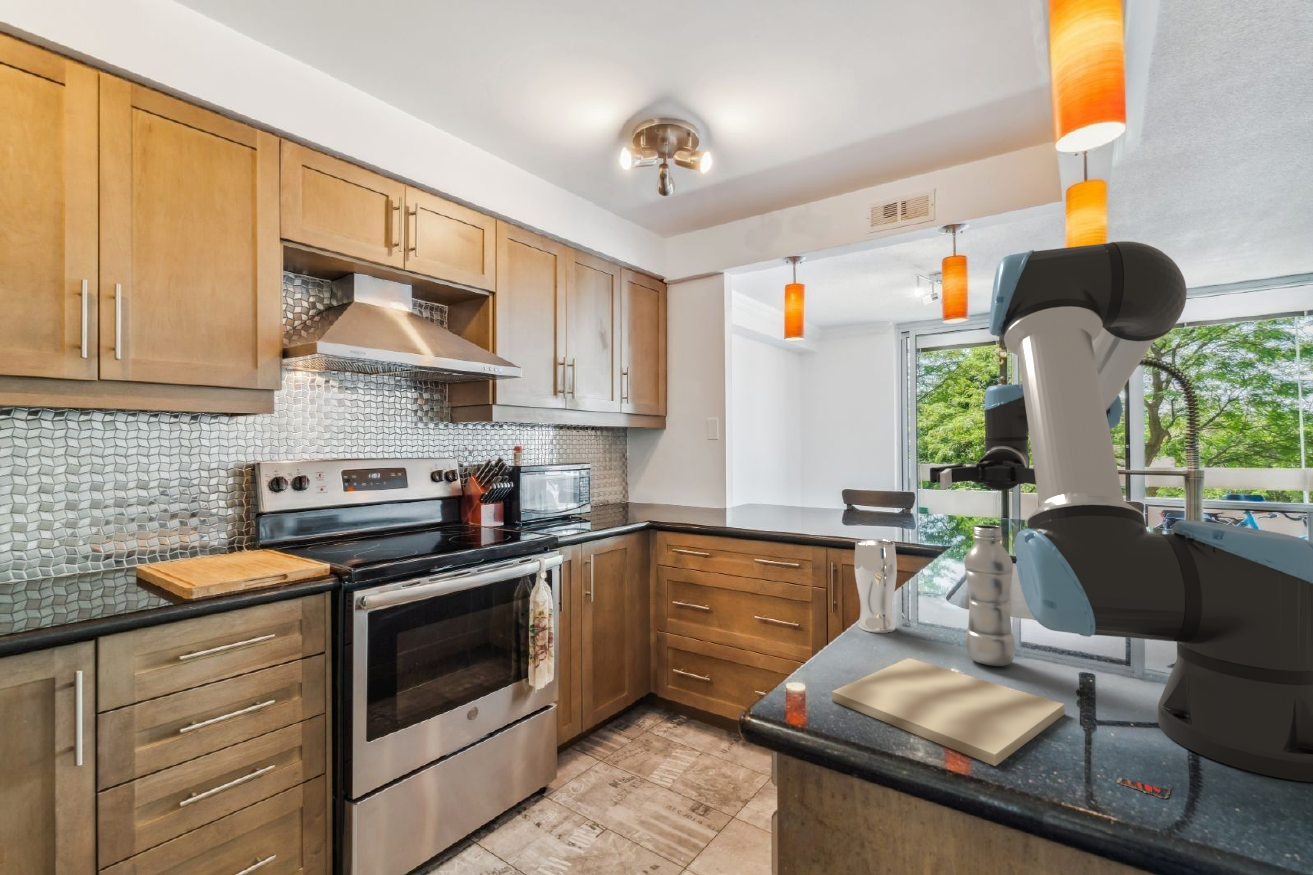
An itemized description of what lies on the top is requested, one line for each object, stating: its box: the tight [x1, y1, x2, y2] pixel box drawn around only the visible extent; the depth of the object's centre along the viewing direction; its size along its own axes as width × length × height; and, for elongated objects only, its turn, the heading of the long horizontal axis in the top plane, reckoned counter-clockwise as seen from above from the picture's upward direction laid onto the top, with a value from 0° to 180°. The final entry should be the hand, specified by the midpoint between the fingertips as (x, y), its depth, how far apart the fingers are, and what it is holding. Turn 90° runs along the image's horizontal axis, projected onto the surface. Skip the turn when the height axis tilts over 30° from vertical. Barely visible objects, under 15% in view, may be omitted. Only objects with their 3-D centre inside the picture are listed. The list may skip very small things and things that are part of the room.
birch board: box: [831, 657, 1065, 767], centre depth 75 cm, size 20×18×1 cm
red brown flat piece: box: [1116, 770, 1174, 799], centre depth 59 cm, size 5×5×1 cm
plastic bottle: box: [963, 524, 1017, 667], centre depth 89 cm, size 6×7×20 cm
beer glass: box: [853, 538, 898, 634], centre depth 106 cm, size 7×7×15 cm
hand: (989, 482), depth 96 cm, fingers open, 13 cm apart
